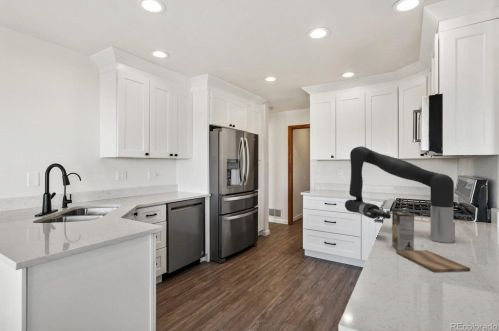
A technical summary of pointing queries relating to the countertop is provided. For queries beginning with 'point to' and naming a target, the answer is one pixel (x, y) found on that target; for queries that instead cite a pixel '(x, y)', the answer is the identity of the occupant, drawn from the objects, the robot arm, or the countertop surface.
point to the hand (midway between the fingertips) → (389, 216)
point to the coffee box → (403, 231)
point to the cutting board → (432, 261)
